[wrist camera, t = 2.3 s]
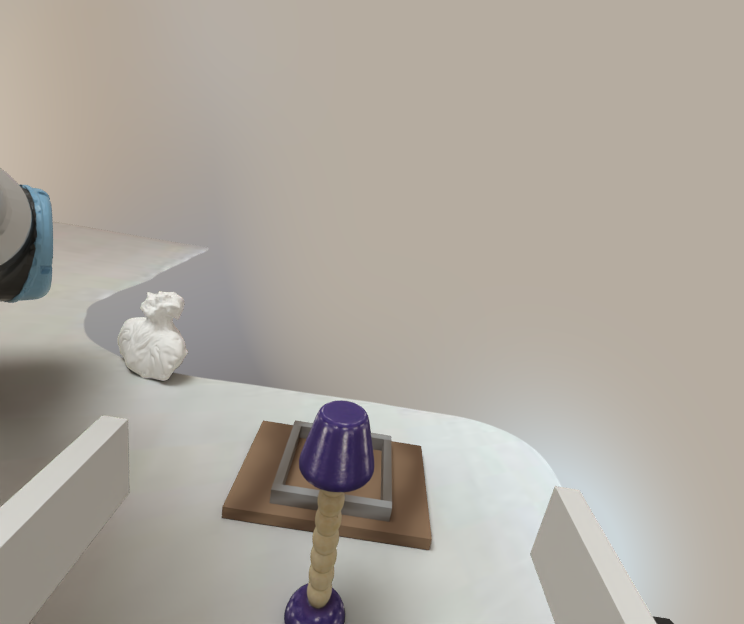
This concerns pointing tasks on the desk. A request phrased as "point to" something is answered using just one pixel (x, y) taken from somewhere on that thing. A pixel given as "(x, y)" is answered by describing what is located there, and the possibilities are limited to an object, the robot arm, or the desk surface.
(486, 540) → the desk surface
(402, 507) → the plate
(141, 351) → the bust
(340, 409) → the toy lamp
